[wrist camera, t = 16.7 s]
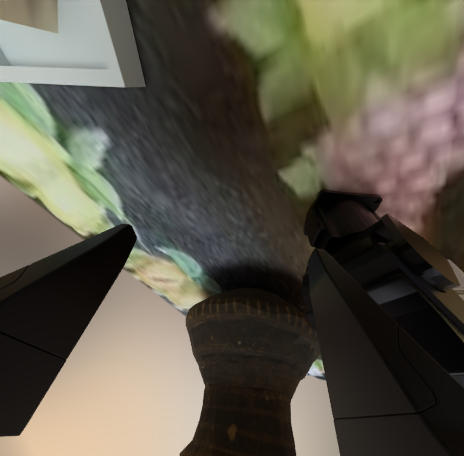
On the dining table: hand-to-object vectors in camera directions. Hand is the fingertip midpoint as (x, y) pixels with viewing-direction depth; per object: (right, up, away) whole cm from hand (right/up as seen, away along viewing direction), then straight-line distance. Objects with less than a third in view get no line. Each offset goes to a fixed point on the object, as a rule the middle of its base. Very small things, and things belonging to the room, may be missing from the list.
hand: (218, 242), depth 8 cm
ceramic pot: (+5, -14, +28) cm, 32 cm away
